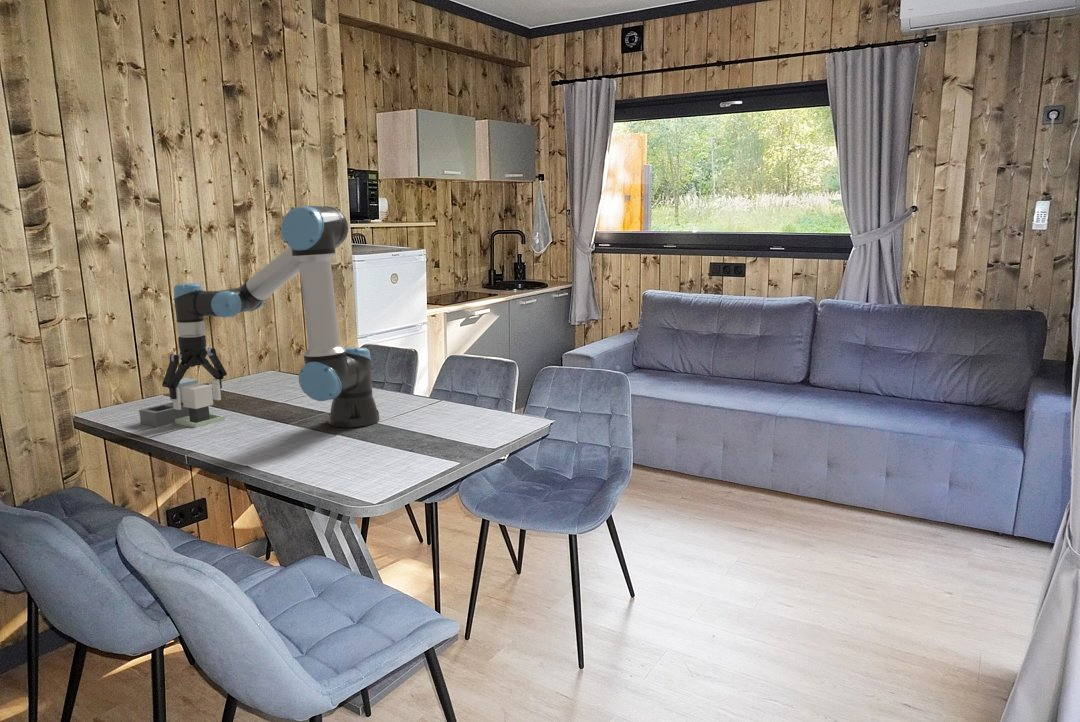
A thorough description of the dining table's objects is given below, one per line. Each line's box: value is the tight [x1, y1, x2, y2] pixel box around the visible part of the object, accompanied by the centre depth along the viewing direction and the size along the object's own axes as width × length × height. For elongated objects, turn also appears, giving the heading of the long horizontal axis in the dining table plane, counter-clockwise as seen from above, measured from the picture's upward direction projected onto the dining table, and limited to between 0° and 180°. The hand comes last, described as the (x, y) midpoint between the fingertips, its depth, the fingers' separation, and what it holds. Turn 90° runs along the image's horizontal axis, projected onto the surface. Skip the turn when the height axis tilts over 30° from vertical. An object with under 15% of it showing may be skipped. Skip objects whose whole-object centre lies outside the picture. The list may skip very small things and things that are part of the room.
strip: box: [138, 377, 210, 429], centre depth 235 cm, size 8×21×12 cm, turn 150°
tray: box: [174, 412, 226, 429], centre depth 231 cm, size 10×10×2 cm
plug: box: [181, 383, 214, 423], centre depth 230 cm, size 6×6×11 cm
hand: (197, 404), depth 230 cm, fingers open, 13 cm apart
